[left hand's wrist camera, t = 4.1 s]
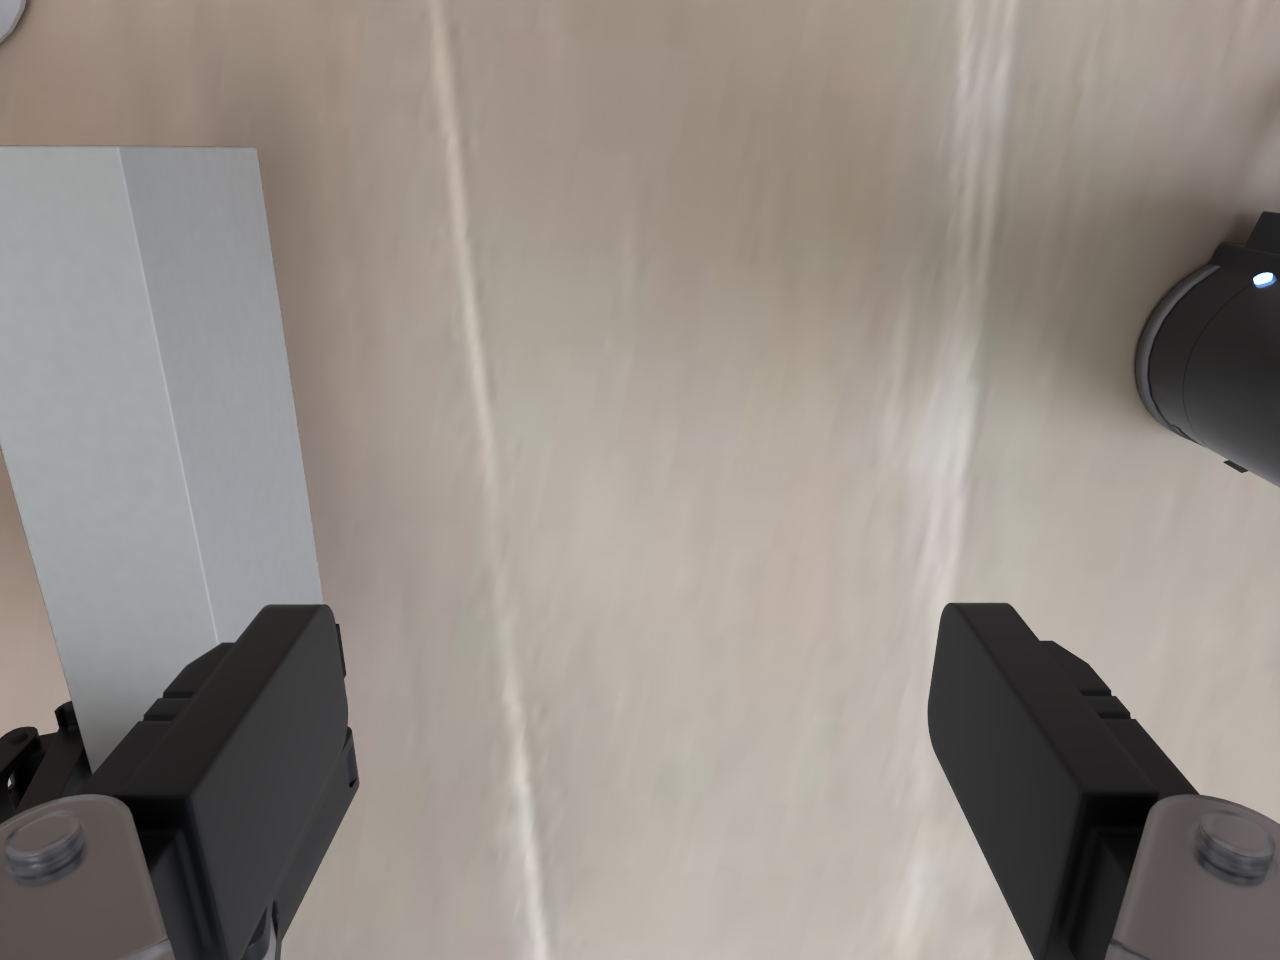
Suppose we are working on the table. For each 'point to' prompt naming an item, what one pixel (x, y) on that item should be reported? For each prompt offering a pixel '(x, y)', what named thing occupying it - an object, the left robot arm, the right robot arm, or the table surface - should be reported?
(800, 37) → the table surface
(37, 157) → the bar
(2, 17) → the mug
